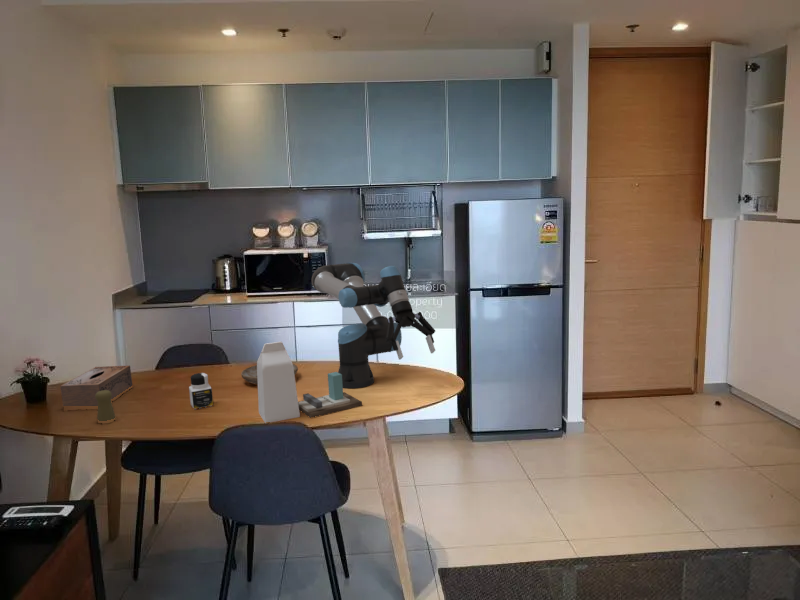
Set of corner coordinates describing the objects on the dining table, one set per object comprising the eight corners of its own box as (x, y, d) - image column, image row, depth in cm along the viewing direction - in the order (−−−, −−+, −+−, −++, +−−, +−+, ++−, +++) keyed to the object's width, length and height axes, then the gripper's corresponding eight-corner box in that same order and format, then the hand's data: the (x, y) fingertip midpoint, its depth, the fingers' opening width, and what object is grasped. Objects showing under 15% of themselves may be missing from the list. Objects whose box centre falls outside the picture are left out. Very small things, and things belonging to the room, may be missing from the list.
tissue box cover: (98, 389, 255) (95, 366, 253) (132, 388, 254) (130, 365, 253) (63, 411, 230) (60, 385, 228) (101, 410, 229) (98, 384, 227)
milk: (265, 423, 207) (258, 348, 203) (258, 413, 217) (252, 341, 213) (299, 416, 212) (294, 343, 207) (292, 407, 222) (286, 337, 218)
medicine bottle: (193, 409, 224) (190, 378, 222) (190, 404, 230) (187, 373, 228) (213, 406, 227) (210, 374, 225) (210, 400, 233) (206, 370, 231)
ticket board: (295, 407, 221) (294, 395, 221) (344, 395, 232) (343, 384, 231) (310, 418, 210) (309, 405, 209) (362, 405, 220) (361, 393, 219)
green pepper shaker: (101, 418, 219) (97, 389, 217) (118, 417, 219) (115, 387, 218) (94, 424, 213) (90, 394, 211) (112, 423, 213) (108, 393, 212)
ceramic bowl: (310, 376, 260) (309, 364, 260) (271, 392, 241) (269, 380, 240) (270, 370, 273) (269, 359, 272) (230, 384, 253) (229, 373, 252)
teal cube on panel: (323, 398, 225) (321, 372, 223) (337, 395, 228) (336, 369, 226) (335, 405, 216) (333, 378, 215) (350, 402, 219) (348, 375, 218)
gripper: (373, 304, 225) (390, 357, 218) (432, 295, 236) (450, 345, 229) (367, 312, 231) (383, 364, 224) (424, 304, 242) (442, 353, 235)
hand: (417, 355), depth 226 cm, fingers open, 13 cm apart
